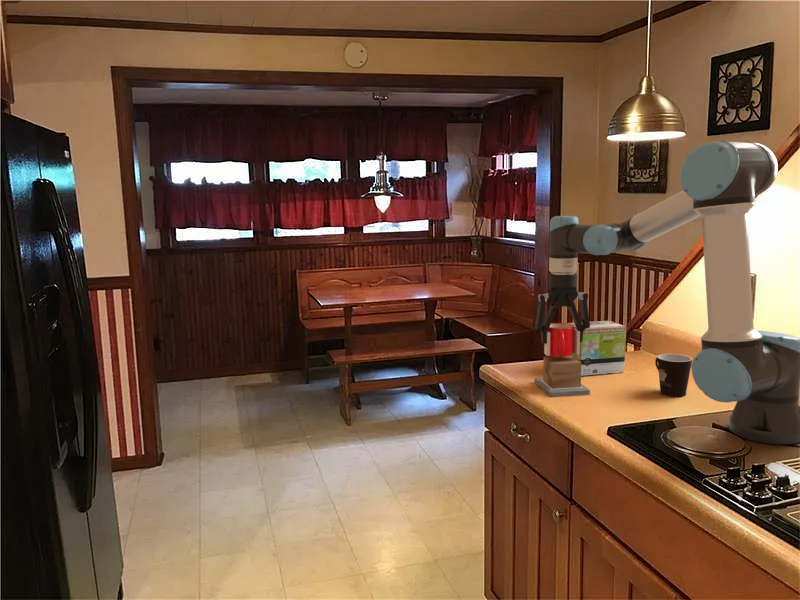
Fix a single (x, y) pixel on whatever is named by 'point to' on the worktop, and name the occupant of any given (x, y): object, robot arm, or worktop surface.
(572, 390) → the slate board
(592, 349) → the tea box
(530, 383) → the worktop surface
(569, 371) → the walnut block
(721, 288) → the robot arm
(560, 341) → the mug
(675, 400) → the worktop surface
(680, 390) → the coffee mug
